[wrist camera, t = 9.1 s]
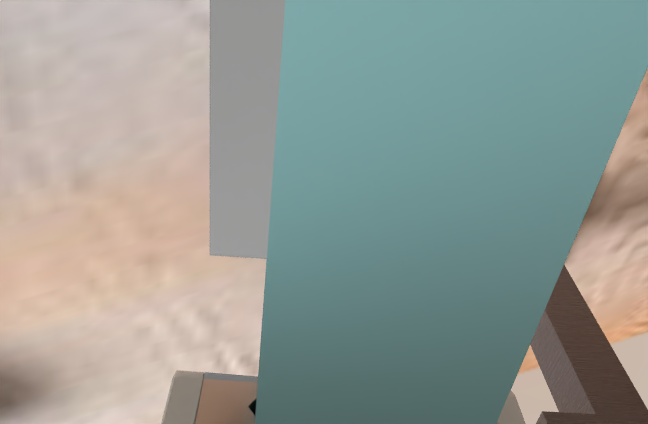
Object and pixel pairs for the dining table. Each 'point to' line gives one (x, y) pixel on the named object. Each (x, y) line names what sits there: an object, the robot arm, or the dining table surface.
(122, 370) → the dining table surface
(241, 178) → the mat
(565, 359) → the forked support stand
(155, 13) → the dining table surface
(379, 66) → the rail
